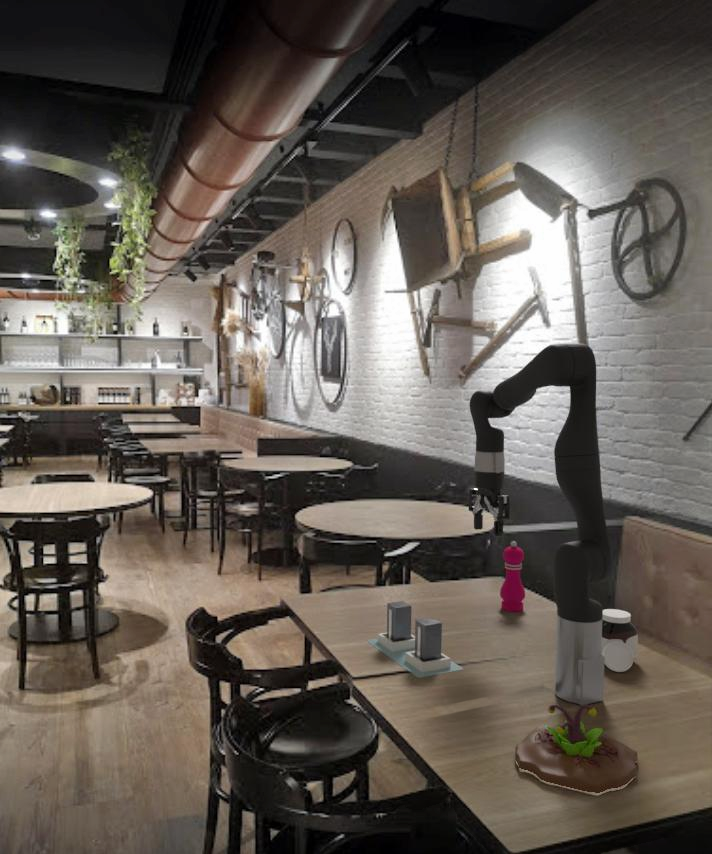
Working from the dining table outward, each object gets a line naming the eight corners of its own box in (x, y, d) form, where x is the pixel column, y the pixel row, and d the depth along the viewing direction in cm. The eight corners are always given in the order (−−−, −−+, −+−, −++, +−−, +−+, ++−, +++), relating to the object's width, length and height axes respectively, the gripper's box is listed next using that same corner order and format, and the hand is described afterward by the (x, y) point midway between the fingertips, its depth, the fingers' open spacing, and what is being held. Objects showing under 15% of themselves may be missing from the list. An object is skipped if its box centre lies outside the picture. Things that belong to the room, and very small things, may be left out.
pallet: (464, 675, 172) (464, 660, 171) (418, 684, 166) (418, 668, 166) (407, 639, 195) (407, 625, 195) (365, 646, 190) (365, 632, 189)
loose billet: (410, 645, 186) (411, 605, 185) (394, 648, 184) (394, 608, 183) (402, 640, 190) (402, 601, 189) (385, 642, 188) (386, 603, 187)
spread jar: (619, 652, 187) (620, 606, 186) (653, 669, 177) (655, 620, 176) (580, 659, 182) (581, 611, 182) (612, 676, 172) (614, 626, 171)
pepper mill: (523, 605, 225) (525, 538, 224) (526, 612, 218) (528, 544, 216) (498, 604, 226) (500, 538, 224) (500, 611, 218) (502, 543, 217)
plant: (612, 810, 119) (615, 741, 118) (499, 770, 131) (501, 707, 130) (650, 760, 135) (653, 699, 134) (547, 728, 147) (548, 672, 146)
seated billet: (441, 665, 173) (441, 623, 173) (423, 669, 171) (424, 625, 171) (430, 659, 177) (431, 617, 177) (413, 662, 175) (414, 620, 175)
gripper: (461, 466, 196) (460, 528, 198) (494, 473, 184) (492, 539, 185) (485, 465, 200) (483, 526, 201) (519, 471, 187) (517, 536, 188)
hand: (488, 532), depth 193 cm, fingers open, 8 cm apart
